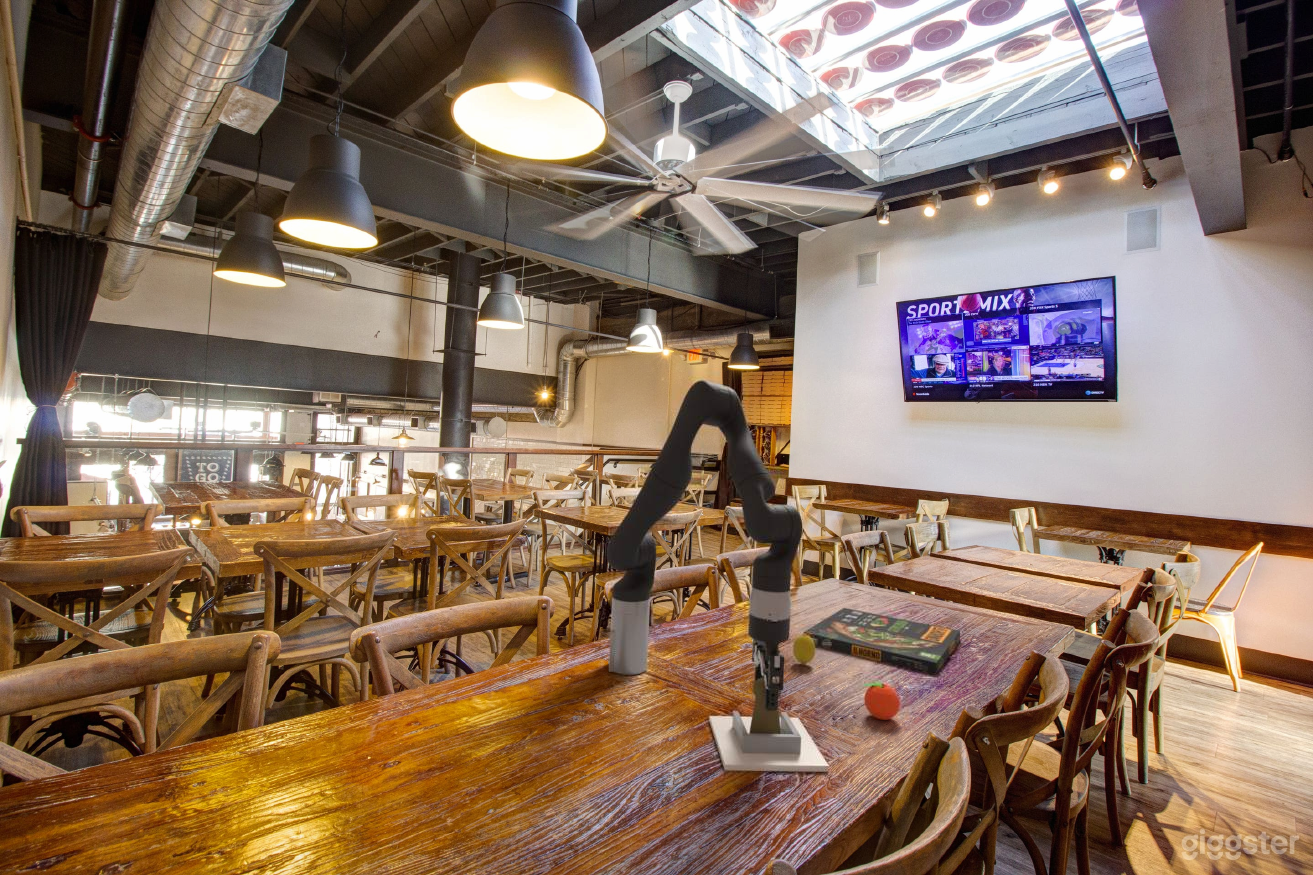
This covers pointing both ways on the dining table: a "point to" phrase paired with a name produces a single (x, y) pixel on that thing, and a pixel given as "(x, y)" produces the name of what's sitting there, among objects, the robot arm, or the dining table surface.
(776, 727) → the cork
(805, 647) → the lemon
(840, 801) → the dining table surface
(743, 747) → the U-rest
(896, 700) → the clementine
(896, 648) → the pizza box
